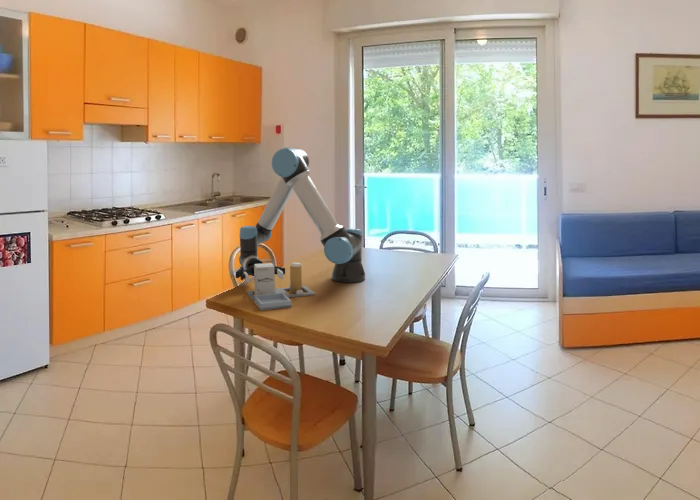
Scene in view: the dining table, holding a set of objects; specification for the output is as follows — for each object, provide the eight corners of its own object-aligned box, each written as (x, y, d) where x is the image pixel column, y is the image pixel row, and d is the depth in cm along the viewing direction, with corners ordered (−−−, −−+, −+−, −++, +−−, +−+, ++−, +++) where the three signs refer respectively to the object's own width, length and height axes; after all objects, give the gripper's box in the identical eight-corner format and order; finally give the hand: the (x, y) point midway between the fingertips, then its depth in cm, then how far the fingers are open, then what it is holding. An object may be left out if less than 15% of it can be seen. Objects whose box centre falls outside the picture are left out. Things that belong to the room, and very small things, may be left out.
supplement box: (256, 299, 201) (255, 267, 199) (254, 293, 208) (253, 263, 206) (275, 297, 203) (274, 266, 201) (272, 292, 210) (272, 262, 208)
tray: (283, 298, 202) (283, 292, 201) (291, 307, 191) (291, 300, 191) (254, 301, 197) (254, 295, 197) (261, 310, 187) (260, 303, 186)
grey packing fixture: (305, 287, 218) (305, 283, 218) (314, 295, 207) (314, 290, 207) (246, 293, 209) (246, 288, 208) (253, 301, 198) (252, 296, 197)
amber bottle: (299, 290, 213) (299, 261, 211) (303, 293, 209) (302, 264, 207) (289, 291, 212) (288, 262, 209) (292, 294, 207) (291, 265, 205)
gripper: (282, 272, 226) (296, 283, 207) (224, 276, 217) (233, 289, 198) (282, 255, 225) (295, 265, 206) (223, 259, 215) (232, 270, 196)
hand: (265, 277), depth 202 cm, fingers open, 13 cm apart
